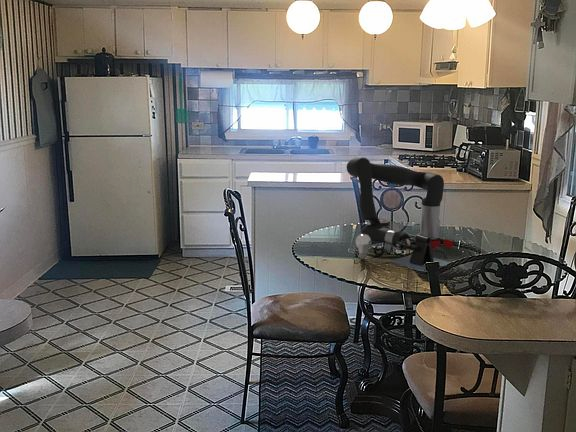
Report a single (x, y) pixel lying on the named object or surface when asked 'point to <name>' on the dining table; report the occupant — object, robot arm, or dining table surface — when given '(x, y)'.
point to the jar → (385, 223)
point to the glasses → (446, 243)
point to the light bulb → (363, 245)
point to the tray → (406, 263)
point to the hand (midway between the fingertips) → (424, 247)
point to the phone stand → (422, 251)
